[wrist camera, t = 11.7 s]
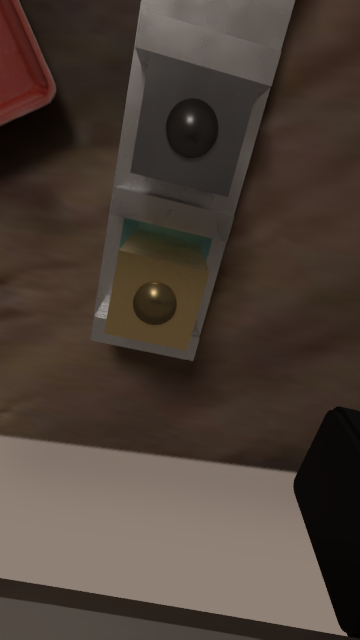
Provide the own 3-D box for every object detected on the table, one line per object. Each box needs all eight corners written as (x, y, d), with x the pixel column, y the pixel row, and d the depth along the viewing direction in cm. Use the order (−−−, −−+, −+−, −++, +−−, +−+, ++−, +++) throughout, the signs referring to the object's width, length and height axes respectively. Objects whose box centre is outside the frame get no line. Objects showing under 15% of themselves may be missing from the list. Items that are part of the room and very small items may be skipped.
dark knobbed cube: (233, 112, 20) (260, 81, 14) (213, 190, 22) (228, 197, 16) (158, 91, 20) (149, 49, 13) (144, 173, 22) (129, 172, 15)
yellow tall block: (200, 245, 23) (209, 272, 17) (184, 305, 25) (187, 352, 18) (134, 229, 23) (118, 251, 16) (123, 291, 25) (103, 334, 18)
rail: (316, -100, 18) (363, -191, 14) (196, 332, 28) (200, 362, 24) (170, -150, 18) (168, -265, 13) (98, 311, 27) (83, 338, 23)
